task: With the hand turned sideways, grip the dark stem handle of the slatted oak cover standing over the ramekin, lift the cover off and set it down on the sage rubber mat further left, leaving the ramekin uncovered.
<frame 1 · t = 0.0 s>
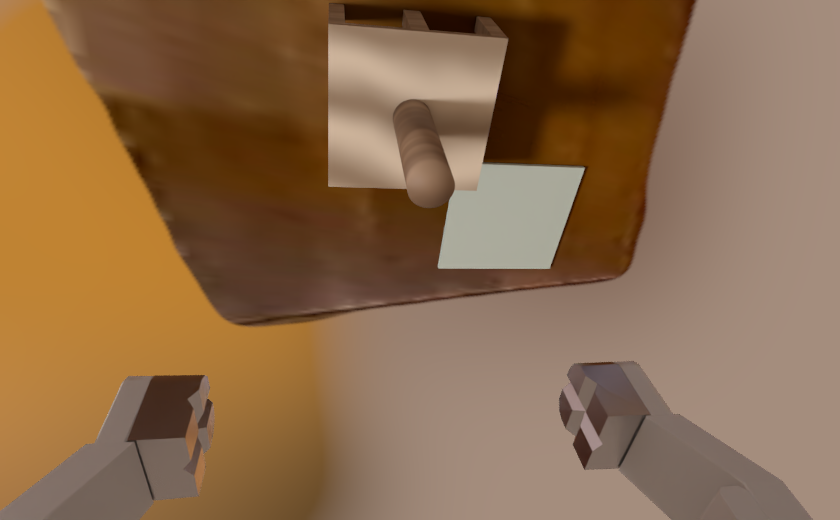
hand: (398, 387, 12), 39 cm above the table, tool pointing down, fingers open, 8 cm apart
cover: (404, 90, 47), on the table
mat: (506, 218, 58), on the table
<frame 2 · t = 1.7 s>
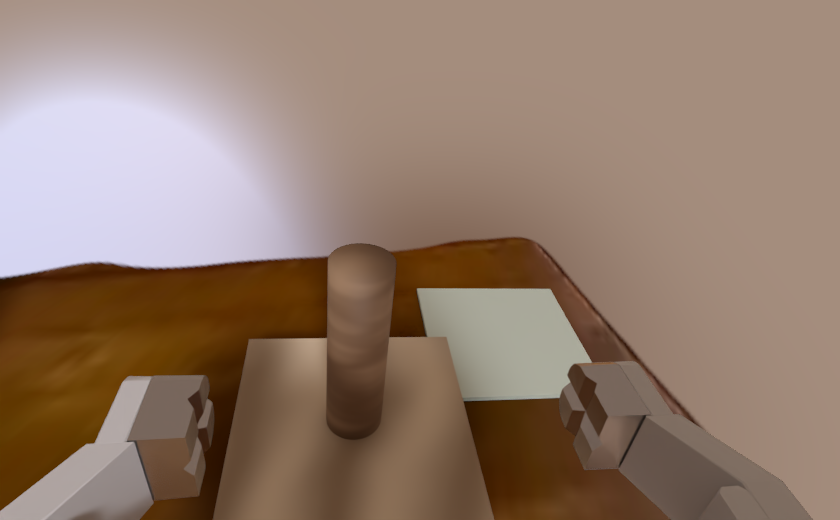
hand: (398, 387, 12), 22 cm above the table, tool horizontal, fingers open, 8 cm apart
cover: (350, 477, 33), on the table
mat: (502, 338, 46), on the table
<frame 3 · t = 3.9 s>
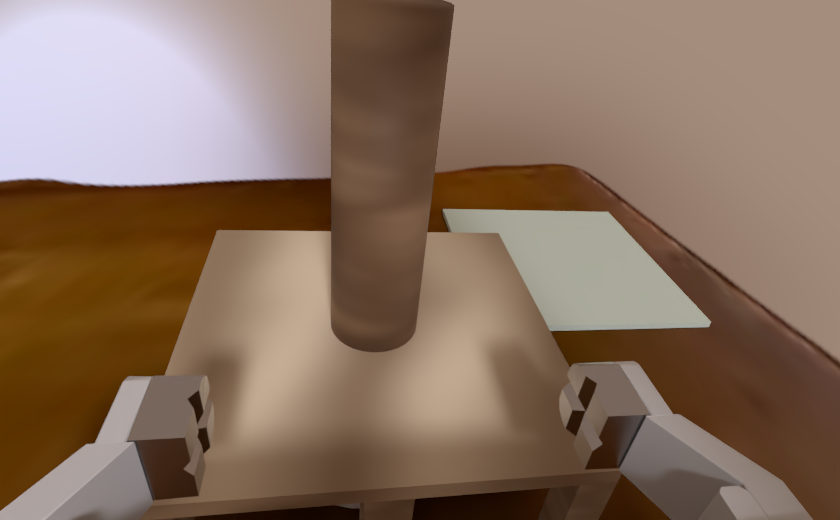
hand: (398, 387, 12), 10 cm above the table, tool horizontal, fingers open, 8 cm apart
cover: (367, 427, 23), on the table
mat: (558, 263, 36), on the table
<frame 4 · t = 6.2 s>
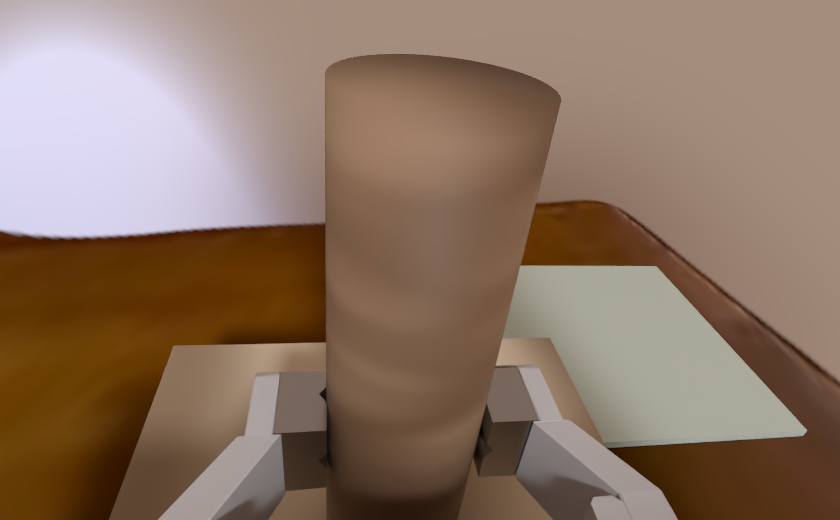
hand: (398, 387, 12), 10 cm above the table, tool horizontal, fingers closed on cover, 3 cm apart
mat: (606, 340, 29), on the table
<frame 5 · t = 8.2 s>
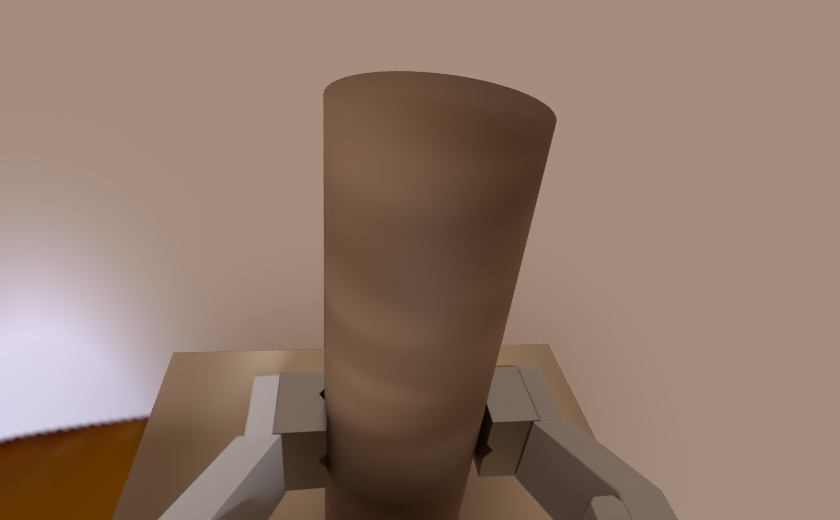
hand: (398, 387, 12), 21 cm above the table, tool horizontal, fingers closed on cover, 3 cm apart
when the fingers open (12 cm above the table, at t = 10.7 s): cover stays where it is, resting on mat.
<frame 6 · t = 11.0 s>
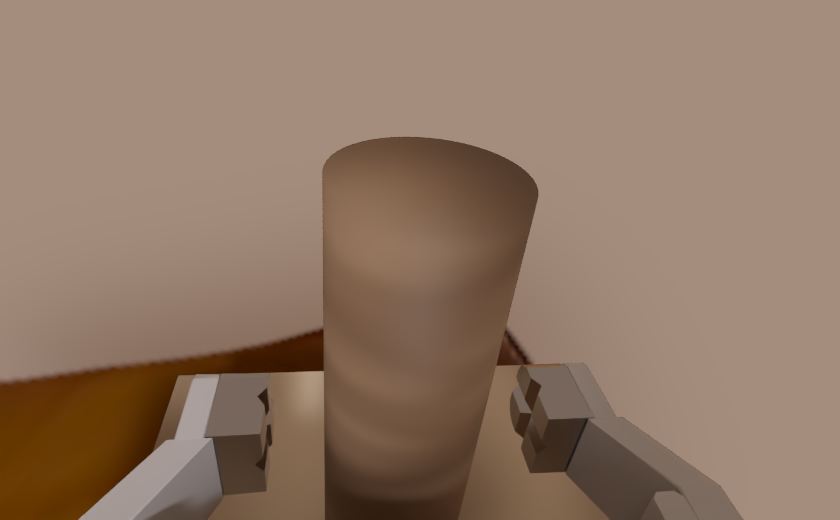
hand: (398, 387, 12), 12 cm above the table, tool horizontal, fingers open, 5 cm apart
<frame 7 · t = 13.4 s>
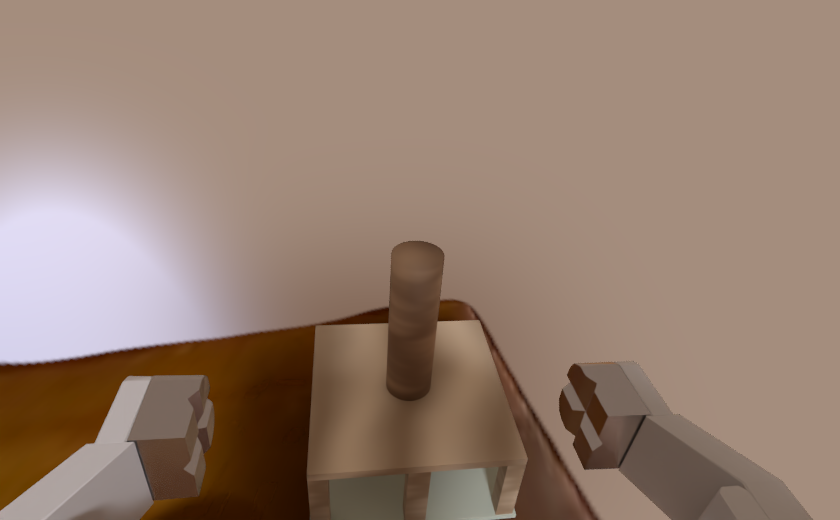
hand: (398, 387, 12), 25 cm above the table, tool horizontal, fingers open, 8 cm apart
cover: (404, 438, 40), resting on mat
mat: (404, 440, 40), on the table
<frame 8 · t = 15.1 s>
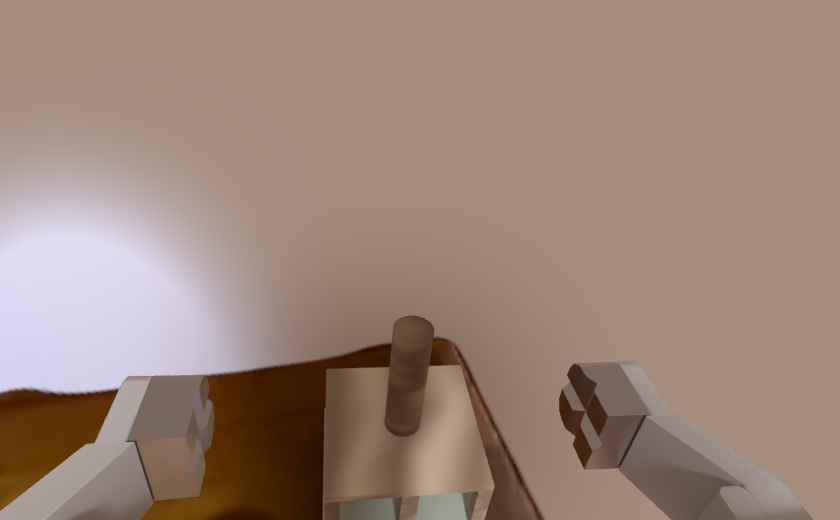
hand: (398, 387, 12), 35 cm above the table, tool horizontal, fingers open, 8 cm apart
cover: (397, 463, 49), resting on mat
mat: (397, 464, 50), on the table
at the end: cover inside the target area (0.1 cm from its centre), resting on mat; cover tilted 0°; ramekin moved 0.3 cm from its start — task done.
